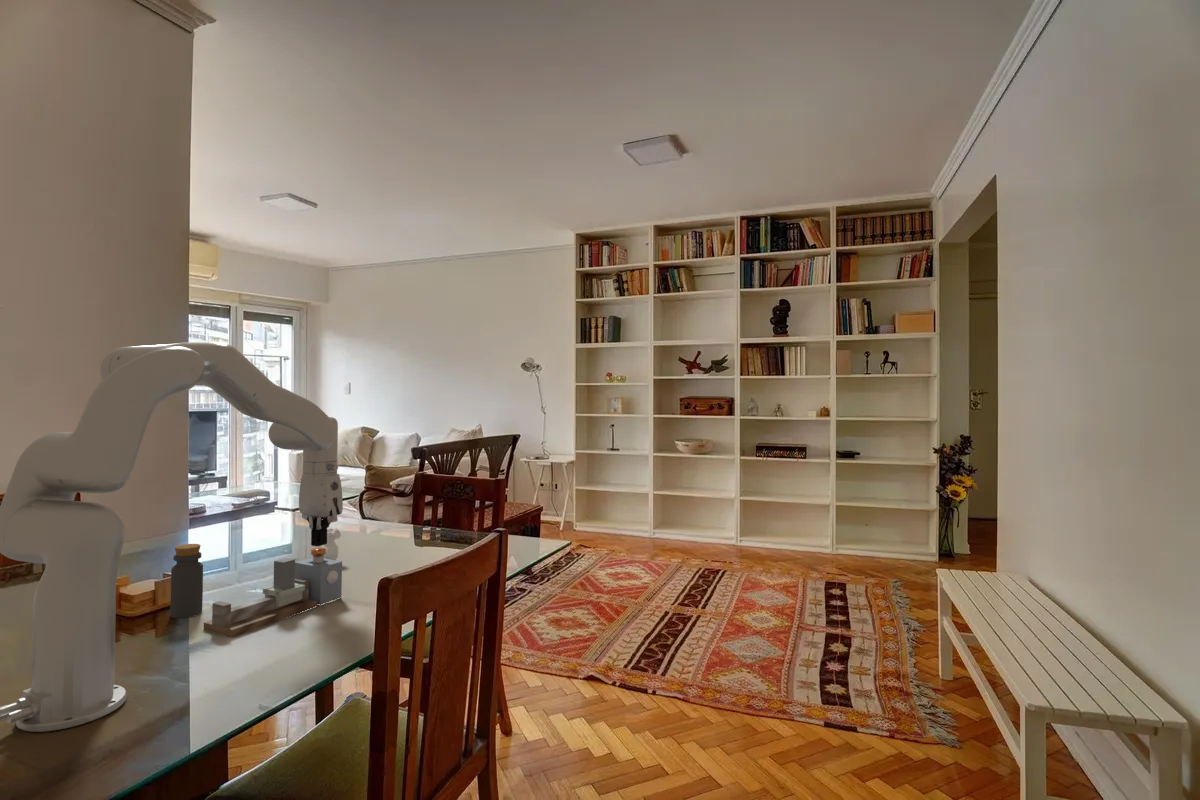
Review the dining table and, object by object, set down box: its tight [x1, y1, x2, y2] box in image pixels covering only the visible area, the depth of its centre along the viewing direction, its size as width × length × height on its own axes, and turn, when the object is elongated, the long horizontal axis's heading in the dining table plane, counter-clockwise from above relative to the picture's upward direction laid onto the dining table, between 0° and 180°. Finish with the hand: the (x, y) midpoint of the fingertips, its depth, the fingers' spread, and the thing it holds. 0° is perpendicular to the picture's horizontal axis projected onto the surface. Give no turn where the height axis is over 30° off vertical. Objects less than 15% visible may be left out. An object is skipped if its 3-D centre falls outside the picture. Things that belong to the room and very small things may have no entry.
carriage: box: [262, 557, 305, 607], centre depth 136 cm, size 6×6×9 cm
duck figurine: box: [316, 526, 342, 560], centre depth 177 cm, size 12×8×11 cm
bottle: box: [169, 543, 204, 619], centre depth 133 cm, size 6×6×15 cm
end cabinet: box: [295, 557, 343, 605], centre depth 144 cm, size 6×9×9 cm, turn 65°
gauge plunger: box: [310, 547, 326, 564], centre depth 144 cm, size 3×3×6 cm
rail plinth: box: [203, 578, 317, 638], centre depth 132 cm, size 20×9×6 cm, turn 155°
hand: (319, 544), depth 145 cm, fingers closed
